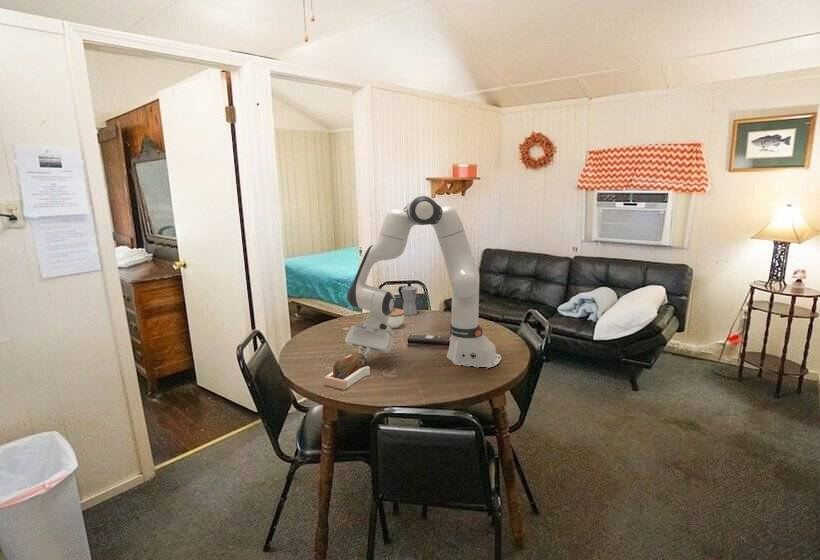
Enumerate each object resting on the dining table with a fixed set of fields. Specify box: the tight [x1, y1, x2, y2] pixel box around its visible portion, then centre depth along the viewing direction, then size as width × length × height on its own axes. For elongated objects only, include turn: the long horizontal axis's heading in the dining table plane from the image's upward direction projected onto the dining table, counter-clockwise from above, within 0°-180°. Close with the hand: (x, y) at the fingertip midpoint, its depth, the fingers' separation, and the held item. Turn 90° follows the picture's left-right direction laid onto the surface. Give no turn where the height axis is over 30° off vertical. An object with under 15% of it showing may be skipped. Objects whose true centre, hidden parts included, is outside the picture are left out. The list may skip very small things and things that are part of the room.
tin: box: [332, 352, 367, 380], centre depth 166 cm, size 15×3×8 cm, turn 140°
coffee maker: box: [397, 281, 418, 317], centre depth 244 cm, size 15×9×18 cm, turn 45°
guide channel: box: [323, 365, 371, 391], centre depth 164 cm, size 12×16×3 cm
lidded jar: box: [387, 307, 405, 329], centre depth 223 cm, size 11×11×9 cm
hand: (361, 358), depth 173 cm, fingers closed
